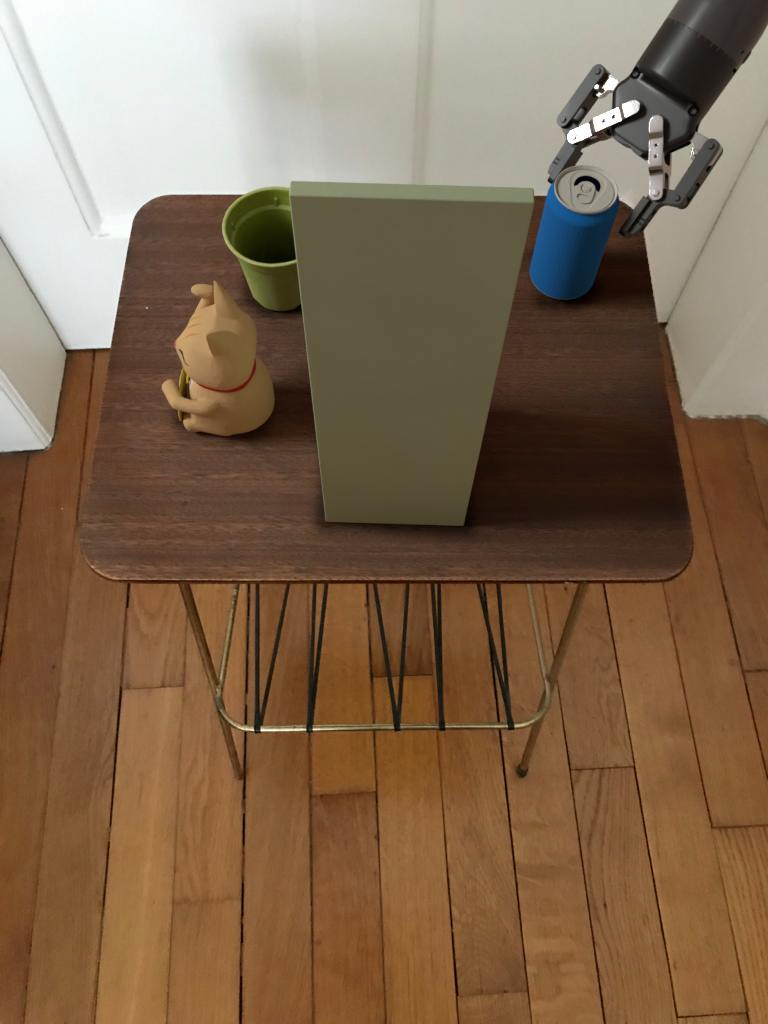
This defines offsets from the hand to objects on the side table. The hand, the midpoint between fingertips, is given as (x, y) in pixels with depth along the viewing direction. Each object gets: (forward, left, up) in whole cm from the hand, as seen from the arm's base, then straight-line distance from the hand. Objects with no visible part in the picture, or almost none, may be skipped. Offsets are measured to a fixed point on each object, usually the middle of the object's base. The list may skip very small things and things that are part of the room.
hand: (587, 210), depth 83 cm
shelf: (+17, +23, -8) cm, 30 cm away
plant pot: (+29, +3, -8) cm, 30 cm away
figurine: (+33, +17, -8) cm, 38 cm away
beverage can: (+1, +1, -8) cm, 9 cm away
